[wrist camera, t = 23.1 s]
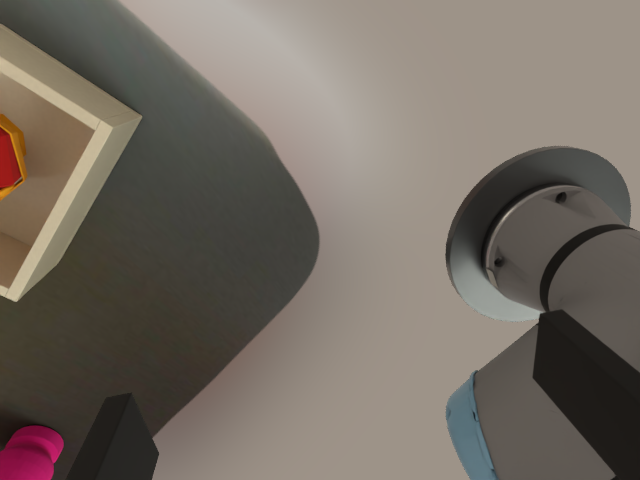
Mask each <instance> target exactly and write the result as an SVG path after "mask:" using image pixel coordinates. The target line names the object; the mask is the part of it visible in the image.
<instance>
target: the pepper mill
mask: <svg viewBox="0 0 640 480" xmlns="http://www.w3.org/2000/svg"><path fill="white" fill-rule="evenodd" d="M62 449H63V439H62V438H61V436H60V435H59V434H58V433H57V432H56V431H54V430H52V429H51V428H48V427H44V426H38V425H35V426H27V427H23V428H21V429H19V430H17V431H16V432H15V433H14V434H13V436H12V437H11V439H10V440H9V441H8V443H7V444H6V446H5V449H4V450H2V451H0V480H51V478H52V475H53V471H54V467H53V463H55V461H56V460H57V458H58V457H59V455H60V453H61V451H62Z"/></svg>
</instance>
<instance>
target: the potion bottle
mask: <svg viewBox="0 0 640 480" xmlns="http://www.w3.org/2000/svg"><path fill="white" fill-rule="evenodd" d="M26 154H27V153H26V147H25V141H24V134H23V132H22V131H21V130H20V129H19V128H18V127H17V126H16V125H15V124H14V123H12V122H11V121H10V120H9V119H8V118H7V117H6V116H5V115H4V114H0V201H1V200H2V199H3V198H4V197H6V196H7V195H8V194H9V193H10V192H12V191H13V190H14V189H15V188H17V187H18V186H19V185H20V184H22V183H23V182H24V181H25V180H26V178H27V176H28V175H27V171H26V167H25V163H24V159H23V157H24V156H25V155H26ZM21 176H22V179H21V180H19V181H18V182H17V183H16V184H14V183H15V182H16V181H17V180H18V179H19V178H20V177H21Z"/></svg>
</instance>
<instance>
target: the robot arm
mask: <svg viewBox="0 0 640 480" xmlns="http://www.w3.org/2000/svg"><path fill="white" fill-rule="evenodd" d="M481 264H482V268H483V271H484V274H485V276H486V278H487V279H488V281H489V282H490V283H491V284H492V286H493V287H494V288H496V289H497V290H498V291H499V292H500V293H501V294H502V295H503V296H505V297H506V298H508V299H510V300H512V301H514V302H517V303H520V304H522V305H525V306H527V307H530V308H533V309H535V310H538V311H541V312H543V313H540V315H539V323H538V324H536V325H535V326H533V327H532V328H531V329H530V330H529V331H527V332H526V333H525V334H524V335H523V336H521V337H520V338H519V339H518V340H517V341H515V342H514V343H513V344H512V345H510V346H509V347H508V348H507V349H505V350H504V351H503V352H502V353H500V354H499V355H498V356H497V357H495V358H494V359H493V360H492V361H490V362H489V363H488V364H487V365H485V366H484V367H483V368H482V369H480V370H479V371H477V370H476V371H474V372H473V373H472V374H471V376H470V378H469V379H468V380H467V381H466V382H465V383H464V384H463V385H462V386H461V387H460V388H459V389H457V390H456V391H455V392H454V393H453V394H452V395H451V396H450V398H449V400H448V402H447V406H446V420H447V424H448V430H449V434H450V437H451V439H452V443H453V445H454V447H455V450H456V452H457V455H458V457H459V459H460V461H461V463H462V465H463V467H464V469H465V471H466V473H467V474H468V476H469V478H470V480H640V232H639V231H637V230H635V229H633V228H630V227H628V226H627V225H626V224H625V223H624V222H623V221H622V220H621V219H620V218H619V217H618V216H617V215H616V214H615V213H614V212H613V211H612V210H611V209H610V208H609V206H608V205H607V204H606V203H605V202H604V201H603V200H602V199H601V198H600V197H599V196H597V195H596V194H595V193H593V192H591V191H589V190H587V189H584V188H581V187H579V186H576V185H573V184H569V183H562V182H554V183H547V184H542V185H539V186H536V187H533V188H531V189H528V190H526V191H524V192H523V193H521V194H519V195H518V196H516V197H515V198H513V199H512V200H511V201H510V202H509V203H507V204H506V205H505V206H504V207H503V208H502V209H501V210H500V211H499V213H498V214H497V215H496V216H495V218H494V219H493V221H492V222H491V224H490V226H489V228H488V230H487V232H486V234H485V237H484V240H483V243H482V248H481ZM158 456H159V452H158V450H157V448H156V446H155V443H154V441H153V439H152V437H151V435H150V432H149V430H148V428H147V426H146V424H145V421H144V419H143V417H142V415H141V413H140V410H139V408H138V406H137V404H136V402H135V399H134V397H133V395H132V393H127V394H122V395H117V396H112V397H107V398H106V399H105V401H104V403H103V405H102V407H101V409H100V411H99V413H98V415H97V417H96V419H95V421H94V423H93V425H92V427H91V429H90V431H89V433H88V435H87V437H86V439H85V441H84V443H83V445H82V447H81V450H80V452H79V454H78V456H77V458H76V460H75V462H74V464H73V466H72V468H71V470H70V472H69V474H68V476H67V478H66V480H152V476H153V473H154V470H155V466H156V463H157V459H158Z"/></svg>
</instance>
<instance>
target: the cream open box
mask: <svg viewBox="0 0 640 480" xmlns="http://www.w3.org/2000/svg"><path fill="white" fill-rule="evenodd" d="M0 114H4V115H5V116H6V117H7V118H8V119H9V120H10V121H11V122H12V123H14V124H15V125H16V126H17V127H18V128H19V129H20V130H21V131H22V132H23V134H24V141H25V147H26V153H27V154H26V155H25V156H24V157H23V159H24V163H25V167H26V171H27V175H28V176H27V178H26V180H25V181H24V182H23V183H22V184H20V185H19V186H18V187H17V188H15V189H14V190H13V191H12V192H10V193H9V194H8V195H7V196H6V197H4V198H3V199H2V200H1V201H0V295H2V296H4V297H6V298H8V299H11V300H13V301H15V302H17V301H18V300H19V299H20V298H21V297H22V296H23V295H24V294H25V293H27V292H28V291H29V290H30V289H31V288H32V287H33V286H34V285H35V284H36V283H37V282H38V281H40V280H41V279H42V278H43V277H44V276H45V275H46V274H47V273H48V272H49V271H50V270H51V269H53V268H54V267H55V266H56V265H57V264H58V263H59V262H60V260H61V258H62V256H63V255H64V253H65V251H66V249H67V248H68V246H69V244H70V243H71V241H72V239H73V237H74V236H75V234H76V232H77V230H78V229H79V227H80V225H81V223H82V222H83V220H84V218H85V216H86V215H87V213H88V211H89V209H90V208H91V206H92V204H93V202H94V201H95V199H96V197H97V196H98V194H99V192H100V190H101V189H102V187H103V185H104V183H105V182H106V180H107V178H108V176H109V175H110V173H111V171H112V169H113V168H114V166H115V164H116V162H117V161H118V159H119V157H120V156H121V154H122V152H123V150H124V149H125V147H126V145H127V143H128V142H129V140H130V138H131V136H132V135H133V133H134V131H135V129H136V128H137V126H138V124H139V122H140V121H141V119H142V116H141V115H140V114H138V113H137V112H135V111H134V110H132V109H131V108H129V107H127V106H126V105H124V104H123V103H121V102H120V101H118V100H117V99H115V98H114V97H112V96H111V95H109V94H108V93H106V92H105V91H103V90H102V89H100V88H98V87H97V86H95V85H94V84H92V83H91V82H89V81H88V80H86V79H85V78H83V77H82V76H80V75H79V74H77V73H76V72H74V71H73V70H71V69H70V68H68V67H66V66H65V65H63V64H62V63H60V62H59V61H57V60H56V59H54V58H53V57H51V56H50V55H48V54H47V53H45V52H44V51H42V50H41V49H39V48H37V47H36V46H34V45H33V44H31V43H30V42H28V41H27V40H25V39H24V38H22V37H21V36H19V35H18V34H16V33H15V32H13V31H12V30H10V29H9V28H7V27H5V26H4V25H2V24H1V23H0ZM21 179H22V176H21V177H20V178H19V179H18V180H17V181H16V182H15V183H14V184H16V183H17V182H18V181H19V180H21Z"/></svg>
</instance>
